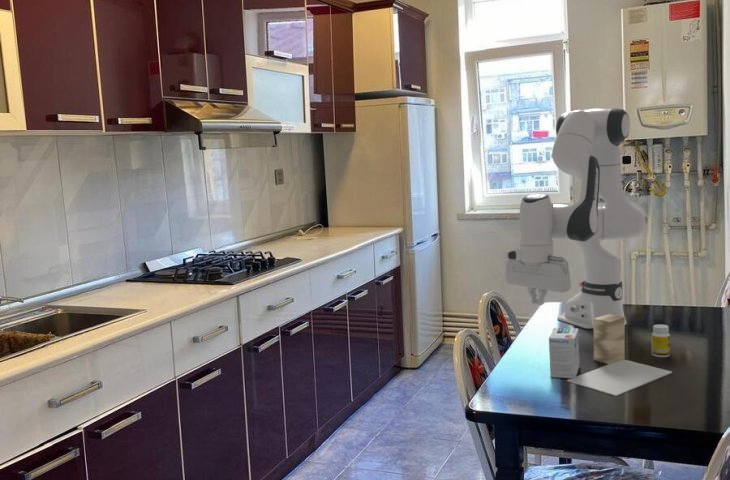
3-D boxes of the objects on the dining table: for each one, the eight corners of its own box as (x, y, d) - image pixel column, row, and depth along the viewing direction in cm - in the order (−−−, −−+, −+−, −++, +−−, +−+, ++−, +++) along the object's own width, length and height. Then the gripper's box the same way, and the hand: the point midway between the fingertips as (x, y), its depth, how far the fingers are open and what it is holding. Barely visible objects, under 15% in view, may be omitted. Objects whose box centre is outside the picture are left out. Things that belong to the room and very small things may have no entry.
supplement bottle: (671, 357, 188) (671, 328, 187) (653, 357, 189) (653, 328, 188) (667, 352, 193) (667, 323, 192) (650, 352, 194) (650, 323, 193)
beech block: (593, 360, 190) (593, 318, 188) (609, 354, 194) (608, 313, 192) (609, 364, 186) (609, 321, 184) (624, 358, 190) (624, 317, 188)
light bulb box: (554, 365, 188) (553, 327, 186) (580, 366, 185) (578, 327, 184) (549, 377, 178) (548, 337, 177) (576, 378, 175) (574, 338, 174)
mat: (566, 381, 175) (566, 380, 175) (623, 360, 188) (623, 359, 188) (616, 396, 163) (616, 395, 163) (672, 372, 177) (672, 371, 177)
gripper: (575, 256, 178) (576, 307, 179) (516, 249, 194) (517, 296, 196) (559, 259, 174) (560, 311, 176) (501, 252, 191) (502, 300, 193)
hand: (537, 303), depth 186 cm, fingers closed
